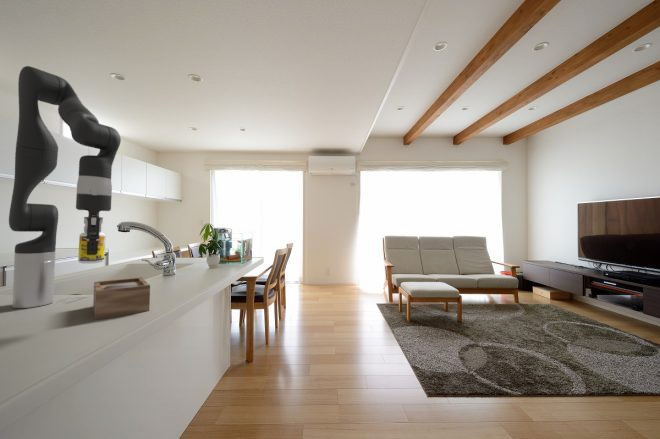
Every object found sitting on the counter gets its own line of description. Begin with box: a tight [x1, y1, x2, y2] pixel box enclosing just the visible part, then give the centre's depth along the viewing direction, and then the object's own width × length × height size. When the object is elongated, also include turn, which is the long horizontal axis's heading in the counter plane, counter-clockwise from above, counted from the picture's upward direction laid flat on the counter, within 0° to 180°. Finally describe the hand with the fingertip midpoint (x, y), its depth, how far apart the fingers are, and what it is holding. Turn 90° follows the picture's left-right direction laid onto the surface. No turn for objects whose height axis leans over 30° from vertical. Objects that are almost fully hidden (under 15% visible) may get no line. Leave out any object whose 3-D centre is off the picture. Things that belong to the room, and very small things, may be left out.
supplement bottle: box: [77, 225, 107, 264], centre depth 77 cm, size 6×6×10 cm
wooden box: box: [92, 277, 151, 320], centre depth 88 cm, size 16×13×8 cm
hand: (91, 253), depth 77 cm, fingers closed on supplement bottle, 5 cm apart
